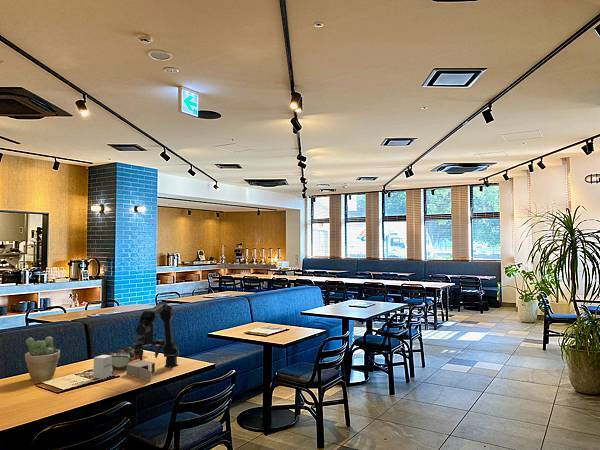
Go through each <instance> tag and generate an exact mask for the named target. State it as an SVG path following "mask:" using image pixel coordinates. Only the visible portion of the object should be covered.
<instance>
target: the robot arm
mask: <svg viewBox="0 0 600 450" xmlns="http://www.w3.org/2000/svg"><path fill="white" fill-rule="evenodd" d="M174 313H175V310H174V308H173V307H172V306H170V305H168V304H167V303H166V302H159V303H157V304H156V305H155V306H154V307H151V309H145V310H143V311H142V312H141V315H140V318H139V322H138V323H139V325H138V326H136V328H135V333H136V334H137V336H135V343H131V346H130V347H131V349H133V350H136V351H137V353H138V356H139V358H140V361H142V356H143V355H142V353H143V354H144V352H143V351H144V350H143V348H144V347H149V346H150V347H151V346H154V358H155V359H157V358H158V356H159V353H160V351H161V349H163V351H162V352H163V357H164V358H165V365H164V367H167V368H174V367H178V366H179V364H178V361H177V359H178V358H179V356H180V351H179V349H178V346H177V343H176V342H175V341H174V335H173V333H174V332H173V324H172V320H173V318H174ZM158 315H159V316H160V317H159V318H160V319H161V321H162V322H163V328H164V339H162V338H159V339H155V336H156V334H155V324H156V319H157V317H158Z"/></svg>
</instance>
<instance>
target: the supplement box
mask: <svg viewBox="0 0 600 450" xmlns="http://www.w3.org/2000/svg"><path fill="white" fill-rule="evenodd" d="M112 373H113V371H112V356H111V355H108V354H101V355H98V356H95V357H94V356H93V376H92V377H93V378H99V379H98V380H101V379H103V380H105V379H108V378H110V377H109V376H111V377H112ZM107 377H108V378H107ZM104 378H105V379H104Z"/></svg>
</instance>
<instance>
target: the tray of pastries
mask: <svg viewBox="0 0 600 450" xmlns="http://www.w3.org/2000/svg"><path fill="white" fill-rule="evenodd" d="M144 351H145V350H143V353H142V360H146V359H148V355H144ZM115 353H129V355H130V358H129V361H128V364H130V363H134V362H138V361H140V358H139V356H138V353H137V351H136V350H134V349H131V346H128V347H125V348H124V349H118V350H117V351H116V352H108V354H107V355H112V354H115Z"/></svg>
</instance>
